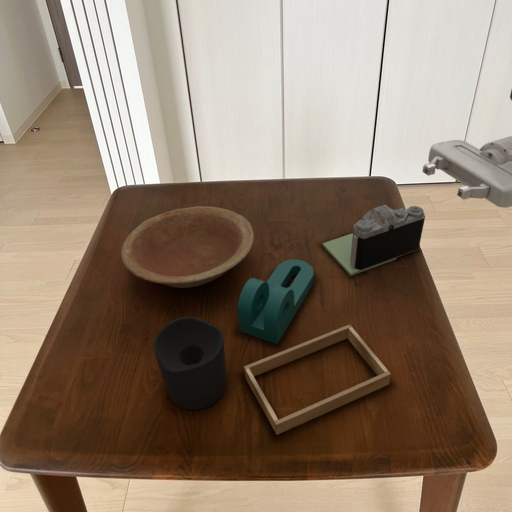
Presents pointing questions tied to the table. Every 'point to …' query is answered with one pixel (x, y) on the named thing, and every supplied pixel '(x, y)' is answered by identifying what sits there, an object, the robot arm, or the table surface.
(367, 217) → the camera
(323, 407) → the rectangular wooden frame
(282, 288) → the bracket
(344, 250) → the mat
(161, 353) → the pen holder
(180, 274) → the bowl
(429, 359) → the table surface
